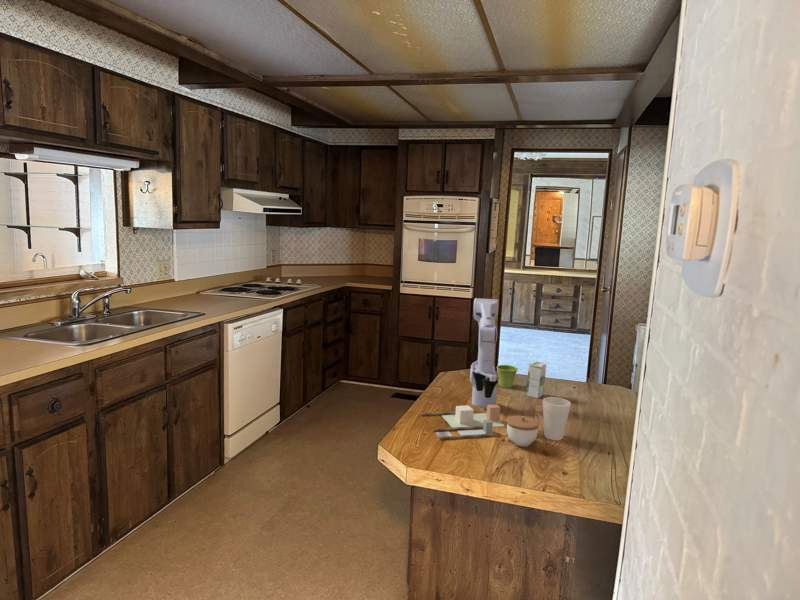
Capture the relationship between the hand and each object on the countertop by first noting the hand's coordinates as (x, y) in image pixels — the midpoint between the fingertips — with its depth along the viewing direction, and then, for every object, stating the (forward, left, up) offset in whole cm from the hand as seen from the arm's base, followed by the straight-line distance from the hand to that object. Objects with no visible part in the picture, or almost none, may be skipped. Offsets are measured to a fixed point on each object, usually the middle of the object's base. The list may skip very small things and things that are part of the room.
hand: (483, 394), depth 207 cm
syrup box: (-34, -23, -10) cm, 42 cm away
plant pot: (-27, -37, -10) cm, 47 cm away
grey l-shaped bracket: (+8, +14, -10) cm, 19 cm away
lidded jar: (-5, +22, -10) cm, 25 cm away
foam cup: (-19, +19, -10) cm, 29 cm away
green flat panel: (+5, +3, -10) cm, 12 cm away
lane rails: (+12, +7, -10) cm, 17 cm away
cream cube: (+9, +3, -9) cm, 13 cm away
